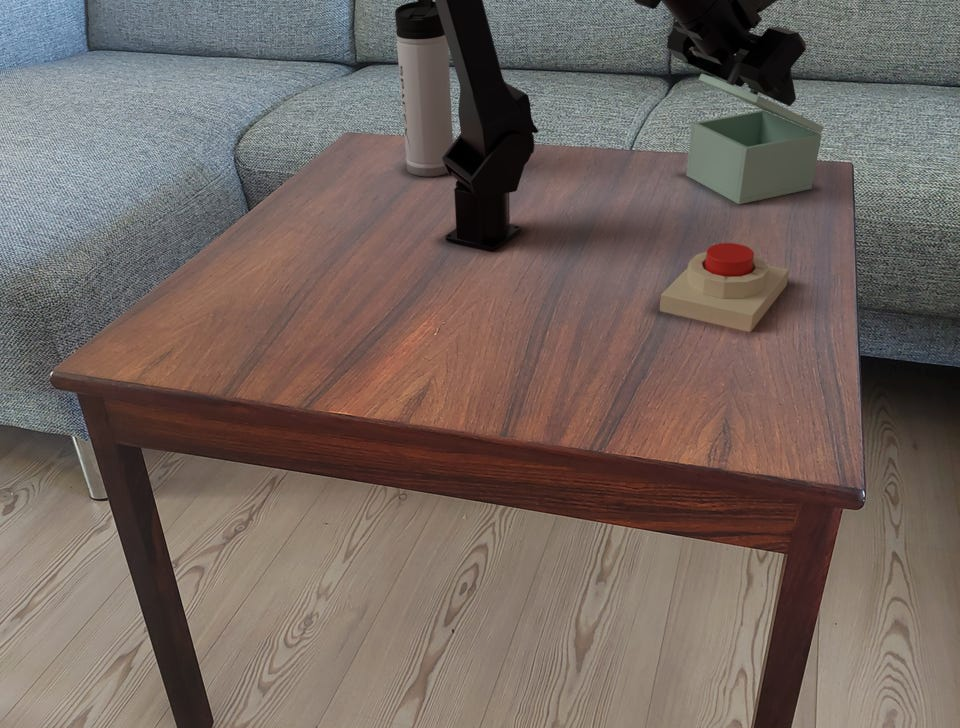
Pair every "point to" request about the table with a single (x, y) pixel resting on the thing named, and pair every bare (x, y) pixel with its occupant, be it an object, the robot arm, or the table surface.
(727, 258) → the power button
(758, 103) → the lid
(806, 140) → the green lidded box
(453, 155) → the robot arm
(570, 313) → the table surface
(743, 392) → the table surface
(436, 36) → the travel mug
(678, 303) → the control block
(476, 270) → the table surface
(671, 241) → the table surface
